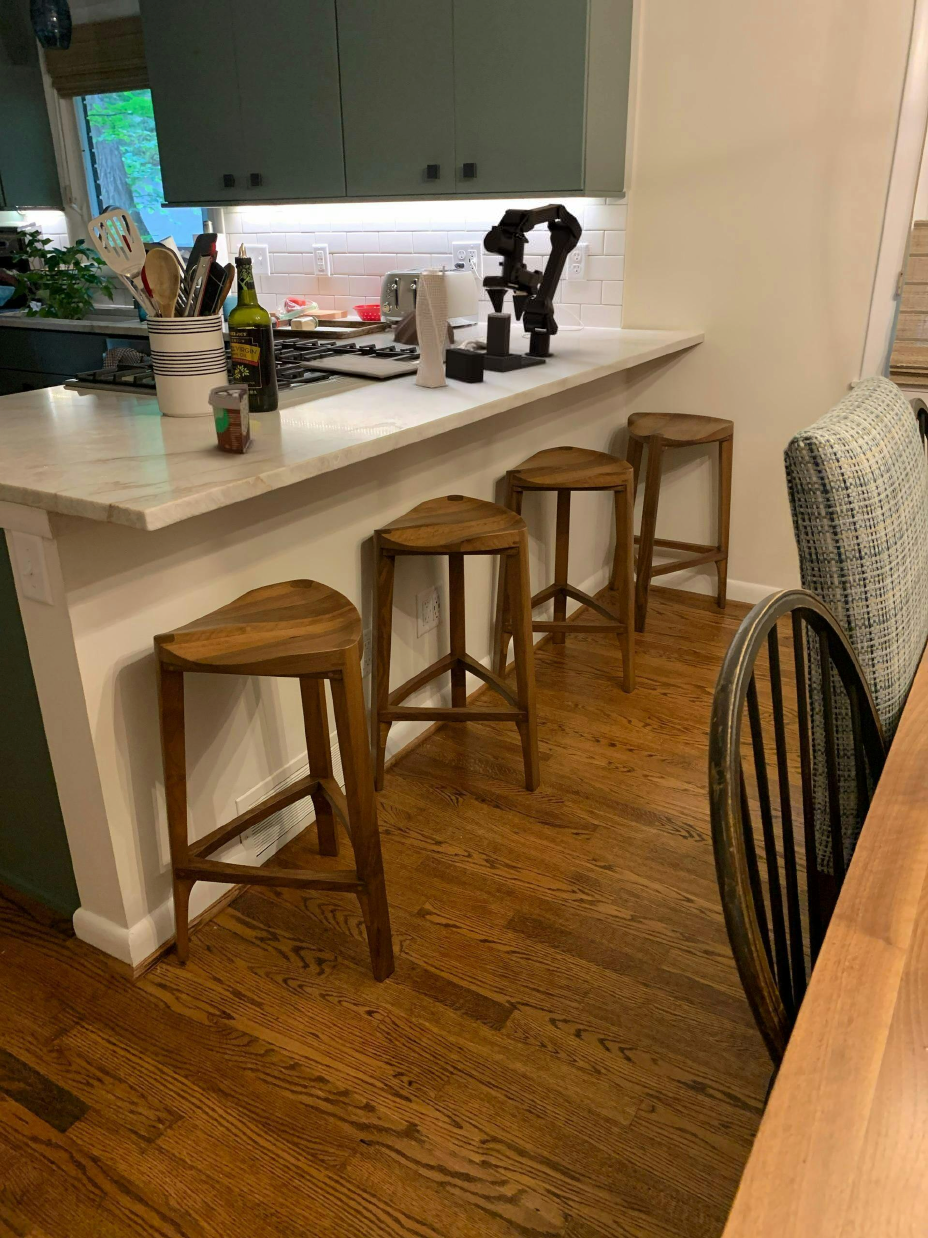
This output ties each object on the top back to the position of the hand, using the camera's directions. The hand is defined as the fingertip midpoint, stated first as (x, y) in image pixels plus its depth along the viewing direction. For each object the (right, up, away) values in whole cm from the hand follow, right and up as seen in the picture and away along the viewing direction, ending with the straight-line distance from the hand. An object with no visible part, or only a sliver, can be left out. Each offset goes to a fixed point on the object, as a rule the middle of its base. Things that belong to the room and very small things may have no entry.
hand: (508, 318), depth 256 cm
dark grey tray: (-2, -12, +3) cm, 12 cm away
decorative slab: (-38, -18, -13) cm, 44 cm away
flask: (-18, -10, +5) cm, 22 cm away
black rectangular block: (-12, -22, -20) cm, 32 cm away
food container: (-54, -52, -90) cm, 117 cm away
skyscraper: (-20, -26, -30) cm, 44 cm away
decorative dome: (-25, +5, +39) cm, 46 cm away
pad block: (-3, -13, -4) cm, 14 cm away
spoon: (-10, -3, +22) cm, 25 cm away
